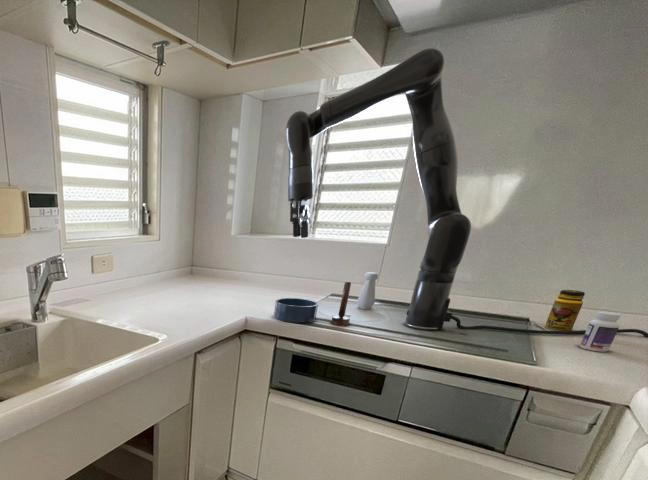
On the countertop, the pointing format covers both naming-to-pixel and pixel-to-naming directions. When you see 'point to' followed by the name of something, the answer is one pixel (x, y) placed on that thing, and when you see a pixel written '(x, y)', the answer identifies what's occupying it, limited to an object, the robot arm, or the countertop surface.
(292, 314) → the bowl
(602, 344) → the pill bottle
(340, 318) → the brown stamp
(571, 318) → the condiment
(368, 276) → the salt shaker
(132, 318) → the countertop surface
